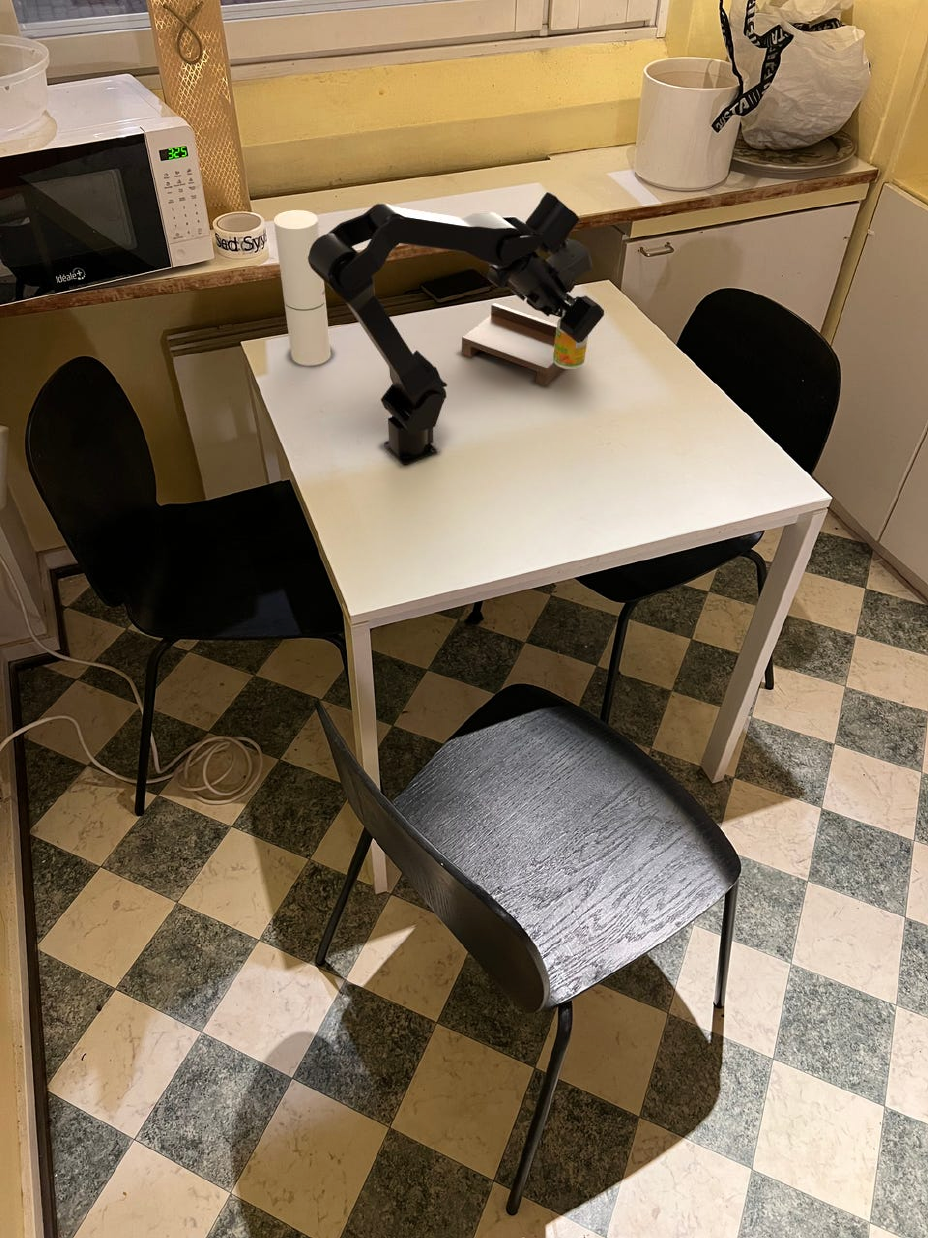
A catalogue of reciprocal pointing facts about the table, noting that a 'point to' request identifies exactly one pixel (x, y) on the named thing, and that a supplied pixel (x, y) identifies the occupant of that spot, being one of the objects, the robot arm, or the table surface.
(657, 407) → the table surface
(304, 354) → the cylindrical container
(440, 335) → the table surface
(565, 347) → the supplement bottle
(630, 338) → the table surface
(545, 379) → the shelf
